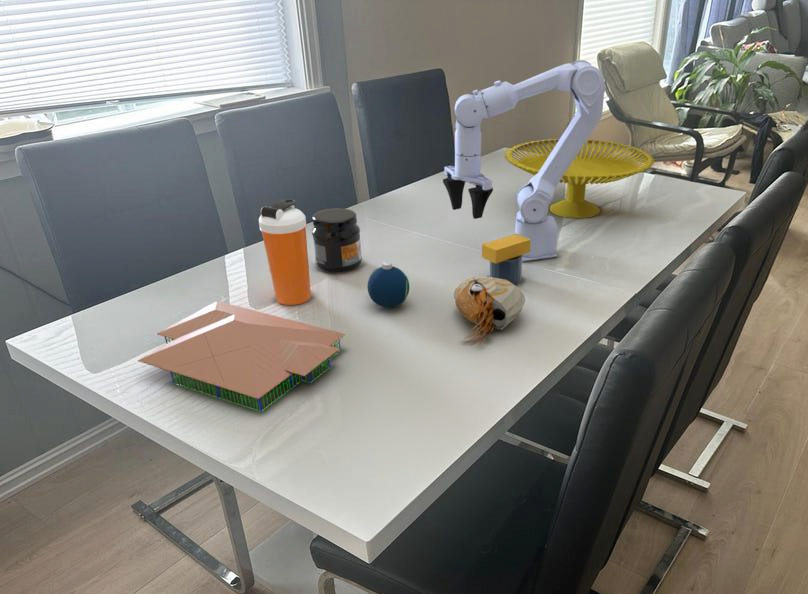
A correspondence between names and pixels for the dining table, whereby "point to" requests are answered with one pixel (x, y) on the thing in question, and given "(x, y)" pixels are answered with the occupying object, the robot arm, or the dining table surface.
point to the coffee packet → (505, 248)
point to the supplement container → (336, 240)
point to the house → (243, 351)
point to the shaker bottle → (286, 251)
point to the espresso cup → (507, 270)
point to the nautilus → (488, 303)
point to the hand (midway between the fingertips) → (467, 213)
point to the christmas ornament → (388, 286)
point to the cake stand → (582, 172)
